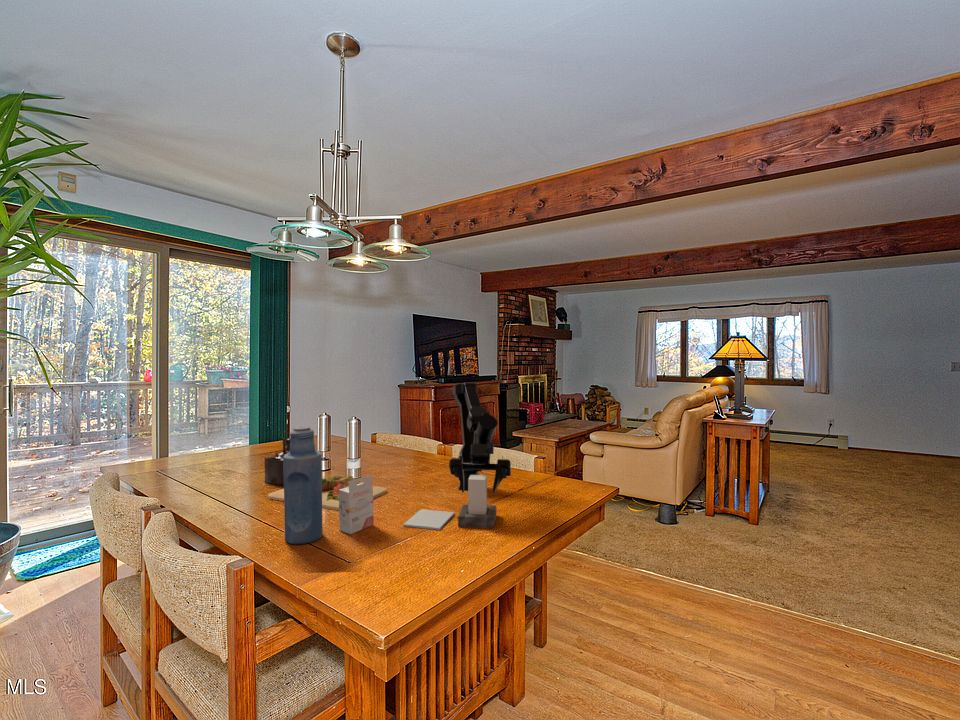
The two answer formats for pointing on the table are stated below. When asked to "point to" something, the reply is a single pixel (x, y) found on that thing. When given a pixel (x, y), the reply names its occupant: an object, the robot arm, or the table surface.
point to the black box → (276, 465)
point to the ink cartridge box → (356, 505)
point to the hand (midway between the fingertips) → (478, 492)
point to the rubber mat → (429, 519)
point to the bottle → (302, 488)
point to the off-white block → (477, 494)
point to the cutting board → (331, 491)
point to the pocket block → (477, 518)
